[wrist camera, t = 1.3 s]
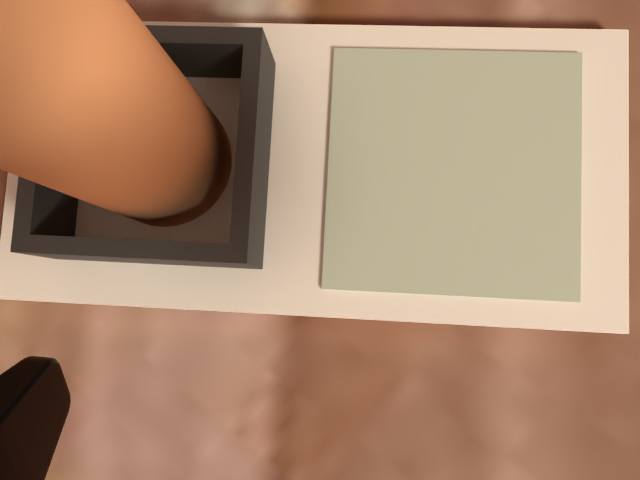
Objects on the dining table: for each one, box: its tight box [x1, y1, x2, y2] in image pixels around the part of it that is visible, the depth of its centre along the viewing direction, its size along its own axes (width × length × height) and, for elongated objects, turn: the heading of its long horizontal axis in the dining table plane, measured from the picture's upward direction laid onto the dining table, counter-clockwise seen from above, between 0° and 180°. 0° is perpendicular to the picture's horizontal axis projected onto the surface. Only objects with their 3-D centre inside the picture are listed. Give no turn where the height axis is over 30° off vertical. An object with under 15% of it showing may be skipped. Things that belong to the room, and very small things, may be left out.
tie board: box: [0, 21, 629, 334], centre depth 21 cm, size 23×11×4 cm, turn 87°
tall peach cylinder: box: [0, 0, 232, 227], centre depth 16 cm, size 5×5×13 cm
